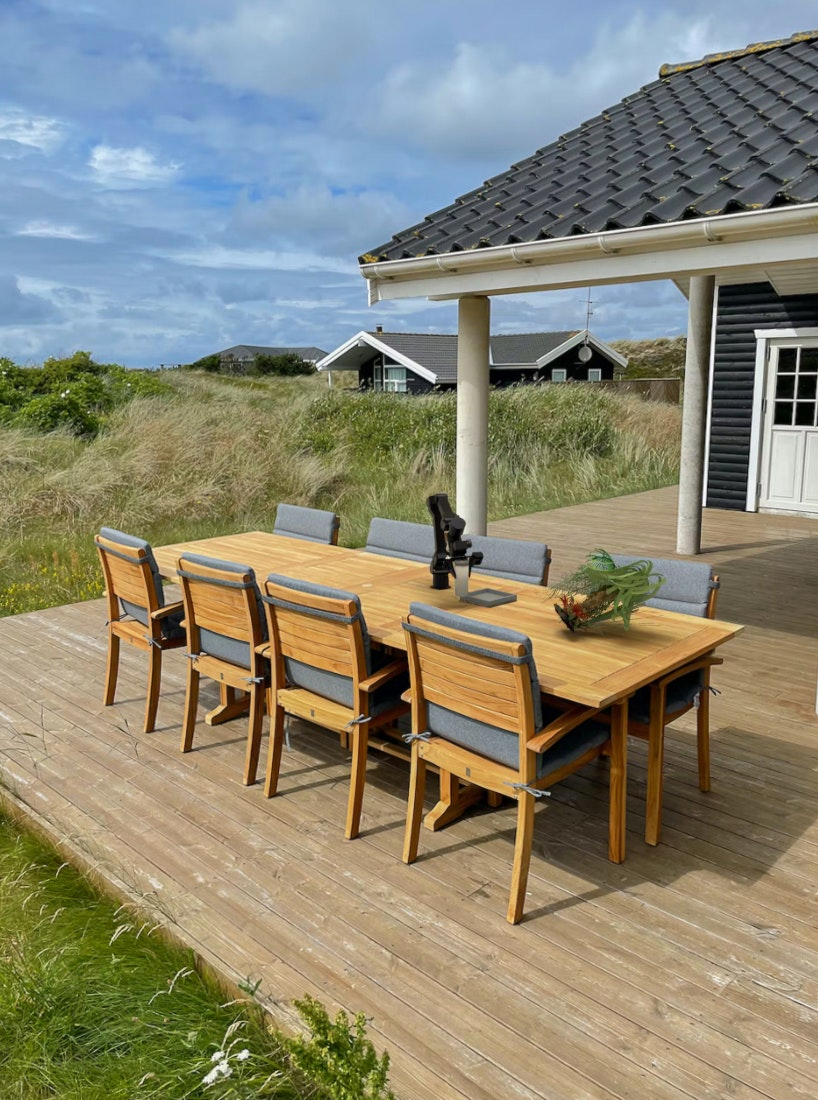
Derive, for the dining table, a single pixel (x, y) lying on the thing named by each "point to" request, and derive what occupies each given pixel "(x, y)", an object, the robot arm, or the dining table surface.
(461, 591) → the shaker
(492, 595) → the tray
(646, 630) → the dining table surface
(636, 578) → the plant
